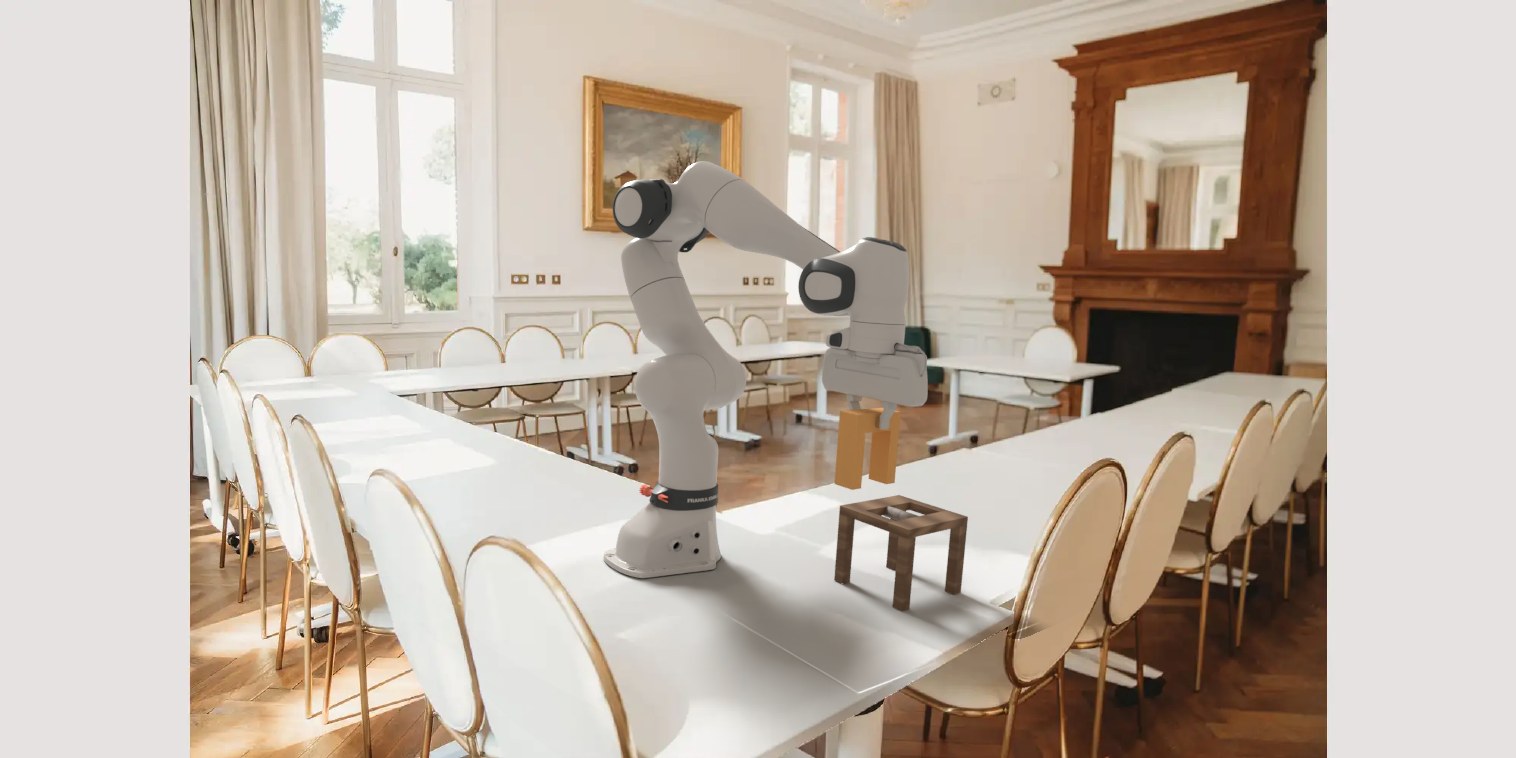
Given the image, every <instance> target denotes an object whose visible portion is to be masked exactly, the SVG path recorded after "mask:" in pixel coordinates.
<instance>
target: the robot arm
mask: <svg viewBox="0 0 1516 758" xmlns="http://www.w3.org/2000/svg"><path fill="white" fill-rule="evenodd" d="M612 216H613V219H614V222H615V224H616V226H617V227H618V228H619V230H621V231H622V232H623V233H624V234H626V235H628V236H631V237H633V239H632V240H630V241H629V242H627V243H626V245H625V246H624V247H623V249H622V251H621V255H620V257H621V259H620V260H621V267H622V272H623V278H624V283H625V285H626V289H627V292H628V296H629V299H630V301H631V304H632V306H633V309H634V310H633V311H635V314H636V318H637V320H638V322H639V325H640V328H641V330H642V334H643V336H644V337H645V338H646V339H647V341H649V342H650V343H651V344H653V345H655V346H656V347H658V348H659V349H660V350H661V351H662V352H663V353H664V355H662V356H660V357H657V358H654V359H652V360H649V361H646V362H645V363H643V364H642V365H641V366H640V368H638V371H637V372H636V375H635V380H634V392H635V397H636V399H637V402H638V403H639V404H640V406H641V408H642V409H644V410H645V411H646V412H647V413H648V414H649V415H650V417H651V419H652V421H653V423H654V426H655V429H656V432H657V433H656V434H657V437H658V444H659V445H658V446H659V447H658V448H659V457H658V458H659V460H658V463H659V464H658V481H657V482H656V483H655V485H654V488H653V487H652V486H649V485H648V484H642V485H640V487H639V494H640V495H641V496H644V497H646V498H648V497H649V500H648V501H649V502H648V503H647V504H646V505H645V506H644V507H642V508H641V509H640V510H639V511H638V512H636V513H635V515H633V516H632V517H631V518H630V519H629V520H627V521H625V522H624V524H622V526H621V527H620V528H619V530H618V531H619V532H618V534H617V540H616V544H615V548H611V549H608V550H605V551H604V553H603V561H604V562H605V563H606V564H607V565H608V566H609V567H610V568H612V569H613V570H616V571H617V572H619V573H621V574H624V575H627V576H629V577H632V578H639V579H647V578H656V577H664V576H665V577H666V576H672V575H679V574H687V573H688V574H689V573H696V572H703V571H711V570H715V569H716V568H717V562H718V561H719V560H720V559H721V557H722V554H721V550H720V549H721V548H720V544H719V539H718V532H717V512H716V511H717V506H718V503H719V484H718V483H717V478H718V466H719V465H718V463H719V461H718V460H719V446H718V442H717V441H716V440H715V438H714V437H713V436H712V435H710V434H709V433H708V431H707V428H706V424H705V417H704V412H705V411H709V410H717V409H721V408H723V407H726V406H728V405H730V404H732V403H734V402H737V400H739V399H740V398H741V397H742V395H744V392H745V391H746V390H745V389H746V387H747V375H746V370H745V368H744V366H743V364H742V363H741V362H740V360H738V359H737V358H736V357H734V356H733V355H731V354H730V353H728V352H727V351H726V350H725V349H724V348H723V347H722V345H721V344H720V343H719V341H718V340H716V338H715V336H714V335H713V334H712V333H711V331H710V330H709V329H708V327H707V326H706V324H705V323H704V322H703V319H702V317H701V316H700V314H699V312H698V310H697V307H696V305H695V303H694V299H693V297H692V294H691V292H690V290H689V287H688V285H687V282H686V280H685V277H684V274H683V272H682V270H681V267H680V264H679V260H678V259H679V254H680V253H689V252H690V251H692V249H693V248H694V247H695V245H697V244H698V243H700V242H701V241H702V240H704V239H705V238H706V237H707V236H708V234H709V233H710V234H712V236H714V237H715V238H717V239H718V240H719V241H721V242H722V243H723V242H724V244H727V245H729V246H731V247H733V248H735V249H737V250H739V251H744V252H749V253H755V254H761V255H766V256H767V255H768V256H771V257H772V256H773V257H776V258H779V259H782V260H786V261H788V262H790V263H792V264H794V265H796V266H797V267H799V268H800V269H801V270H802V271H801V273H800V276H799V279H798V288H797V289H798V295H799V298H800V301H801V303H802V304H803V306H804V307H805V308H806V309H807V310H808V311H810V312H812V313H814V314H817V315H821V316H823V317H824V316H828V317H831V316H832V317H850V318H849V319H850V320H849V327H845V328H843V329H840V330H836V331H833V332H829V333H827V334H826V336H825V345H826V347H828V348H827V349H826V351H825V352H824V355H823V356H824V357H823V362H822V372H821V382H822V385H823V387H824V389H825V390H827V391H832V392H835V393H836V392H837V393H841V394H846V402H847V405H848V407H849V410H858V409H862V407H861V403H860V402H861V401H862V398H866V399H870V400H875V401H879V402H881V405H880V408H884V410H883V412H882V414H881V416H880V417H876V420H875V422H876V424H875V427H876V428H878V429H882V430H884V429H888V428H889V422H890V418H891V417H892V415H893V413H894V412H895V410H896V411H897V408H898V405H899V406H903V407H904V406H905V407H911V408H912V407H922V406H923V405H925V403H926V402H927V400H928V395H929V394H928V393H929V392H928V391H929V390H928V389H929V388H928V387H929V385H928V384H929V383H928V370H927V365H928V357H927V355H926V353H925V351H923V349H921V347H920V346H917V345H909V344H905V337H906V336H905V335H906V326H907V325H906V324H907V322H906V316H905V308H906V303H907V301H908V298H909V286H910V259H909V253H908V251H907V249H906V247H904V246H903V245H902V244H900V243H898V242H896V241H891V240H887V239H881V238H877V237H872V236H869V237H868V236H867V237H863V238H861V239H859V241H857V242H856V243H855V244H854V245H852V246H850V247H849V248H847V249H845V250H842V251H840V250H838V249H837V248H835V247H834V246H832V245H831V244H829V243H828V242H826V241H825V240H823V239H822V238H820V237H819V236H817V235H816V234H815V233H813V232H811V231H810V230H809V229H807V228H805V227H804V226H803V225H801V224H799V223H798V221H796V220H794V219H793V218H792V217H791V216H789V214H788V213H785V212H784V211H783V210H782V209H781V208H779V207H778V206H777V205H776V204H774V203H773V202H772V201H771V200H770V199H769V198H767V197H766V196H765V195H764V194H763V193H761V192H760V191H759V190H758V189H756V188H755V187H754V186H753V185H751V184H750V183H749V182H747V181H746V180H745V179H743V178H741V177H740V176H738V174H737V175H736V174H735V173H734V172H732V171H730V170H728V169H726V168H724V167H722V166H720V165H718V164H715V163H714V162H711V161H706V160H705V161H703V160H700V161H697V162H694V163H692V164H691V165H689V166H687V167H686V169H685V170H683V172H682V173H681V175H680V176H679V179H678V180H676V181H675V182H673V183H672V182H668V181H667V182H666V181H665V180H664V179H663V178H652V179H651V178H649V179H648V178H644V179H643V178H642V179H635V180H631V181H628V182H626V183H624V184H623V185H621V186H620V187H619V188H618V190H617V191H616V193H615V195H614V198H613V202H612Z"/></svg>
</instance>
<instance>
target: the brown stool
mask: <svg viewBox="0 0 1516 758" xmlns="http://www.w3.org/2000/svg"><path fill="white" fill-rule="evenodd" d="M908 511H912V512H914V513H918V514H921V515H917V514H914V513H911V512H908ZM838 512H839V515H838V527H837V537H836V538H837V541H836V553H835V564H834V565H835V566H834V577H833V578H834V580H836V581H837V582H836V581H835V582H836V583H839V584H841V583H844V584H847V583H848V584H849V583H850V582H851V571H852V558H853V546H854V531H855V521H858V522H861V523H864V524H866V525H869V526H872V527H875V528H877V529H880V530H883V531H886V532H888V542H887V555H886V566H885V567H886V568H888V569H889V570H893V571H895V573H894V575H895V576H894V585H893V597H892V598H893V599H892V608H893V609H895V610H898V611H900V612H903V611H907V610H909V609H910V606H911V594H912V584H913V573H914V559H915V547H916V538H918V537H921V536H925V535H930V534H935V533H938V532H943V531H947V530H950V533H949V542H948V551H947V564H946V573H945V585H944V586H945V587H944V592H946V593H949V594H950V595H953V596H954V595H957V594H961V593H962V583H963V575H964V574H963V573H964V561H965V551H966V543H967V542H966V541H967V531H968V523H969V522H968V521H969V517H968V515H963V514H961V513H957V512H954V511H950V510H947V509H945V508H942V507H939V506H935V505H932V504H929V503H926V502H922V501H919V500H916V499H913V498H910V497H907V496H903V495H900V494H898V495H896V494H895V495H892V496H885V497H880V498H875V499H869V500H864V501H858V502H853V503H847V504H842V505H839V511H838Z"/></svg>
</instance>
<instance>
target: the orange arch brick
mask: <svg viewBox="0 0 1516 758" xmlns="http://www.w3.org/2000/svg"><path fill="white" fill-rule="evenodd" d="M883 410H884V408H882V407H874V408H873V407H872V408H861V409H858V410H850V409H847V410H839V417H838V418H839V419H838V434H837V443H836V444H837V446H836V448H837V449H836V459H835V472H834V473H835V474H834V485H836V486H839V487H843V488H845V489H848V490H851V491H854V490H859V489H860V490H861V489H862V482H863V481H862V480H863V469H864V468H863V467H864V455H865V441H866V434H867V433H871V442H870V443H871V444H870V456H869V457H870V458H869V469H868V480H871V481H874V482H878V483H881V484H884V485H890V484H895V483H896V481H895V480H896V471H897V461H898V460H897V458H898V446H899V436H900V435H899V434H900V422H901V421H900V420H901V411H899V410H897V409H896V410H895V412H894V413H893V415H892V417H891V418H890V422H889V428H888V429H884V430H882V429H878V428H876V427H875V424H876V422H875V420H876V417H880V416H881V414H882V412H883Z"/></svg>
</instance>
